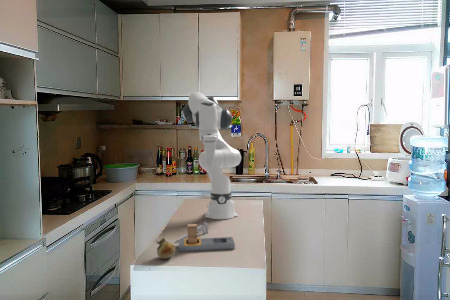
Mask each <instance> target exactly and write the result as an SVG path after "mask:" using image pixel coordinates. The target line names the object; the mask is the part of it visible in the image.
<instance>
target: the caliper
mask: <svg viewBox="0 0 450 300" xmlns="http://www.w3.org/2000/svg"><path fill="white" fill-rule="evenodd" d="M200 233H203V235H206V234H209V224H208V223H207V221H204V222H203V221H202V224H201V225H199V226H197V234H200ZM182 239H188V233H187V234H185V235H182V236H181V237H178V238H177V239H176V241H174V243H175V244H177V243H179V240H182Z"/></svg>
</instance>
